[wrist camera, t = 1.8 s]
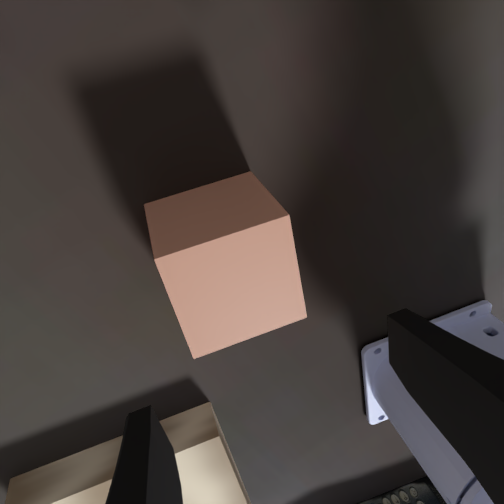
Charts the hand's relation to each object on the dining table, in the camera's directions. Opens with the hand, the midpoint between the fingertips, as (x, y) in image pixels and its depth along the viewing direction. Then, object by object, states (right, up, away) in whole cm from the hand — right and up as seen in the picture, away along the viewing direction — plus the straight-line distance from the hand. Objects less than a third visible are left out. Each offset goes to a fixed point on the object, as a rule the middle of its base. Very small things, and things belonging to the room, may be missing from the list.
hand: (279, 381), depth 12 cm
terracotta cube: (-3, +5, +8) cm, 10 cm away
